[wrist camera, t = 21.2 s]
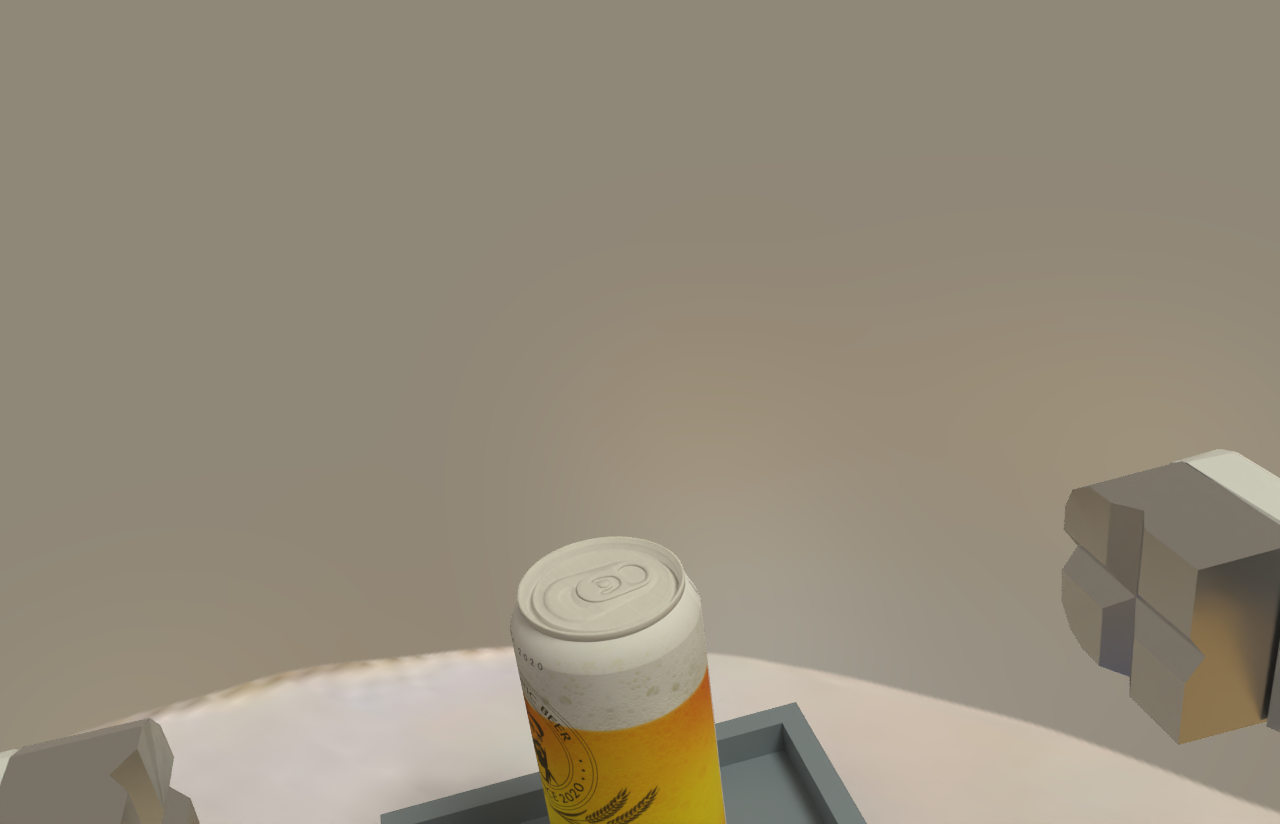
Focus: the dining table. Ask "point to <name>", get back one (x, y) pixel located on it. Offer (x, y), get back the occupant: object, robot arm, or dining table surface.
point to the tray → (750, 773)
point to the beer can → (618, 686)
